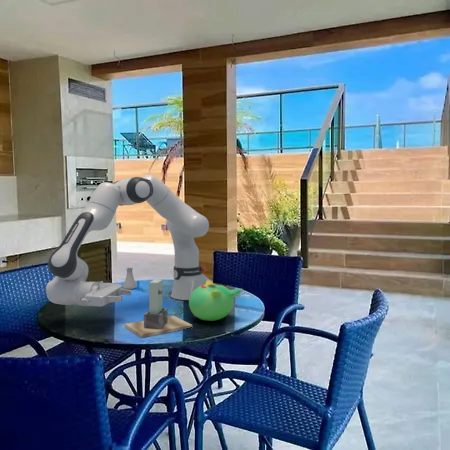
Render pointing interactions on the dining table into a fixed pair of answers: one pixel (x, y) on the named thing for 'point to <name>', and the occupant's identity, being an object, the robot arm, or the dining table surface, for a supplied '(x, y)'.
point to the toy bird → (212, 301)
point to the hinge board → (152, 332)
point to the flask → (129, 280)
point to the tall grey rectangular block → (155, 296)
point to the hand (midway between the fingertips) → (126, 295)
